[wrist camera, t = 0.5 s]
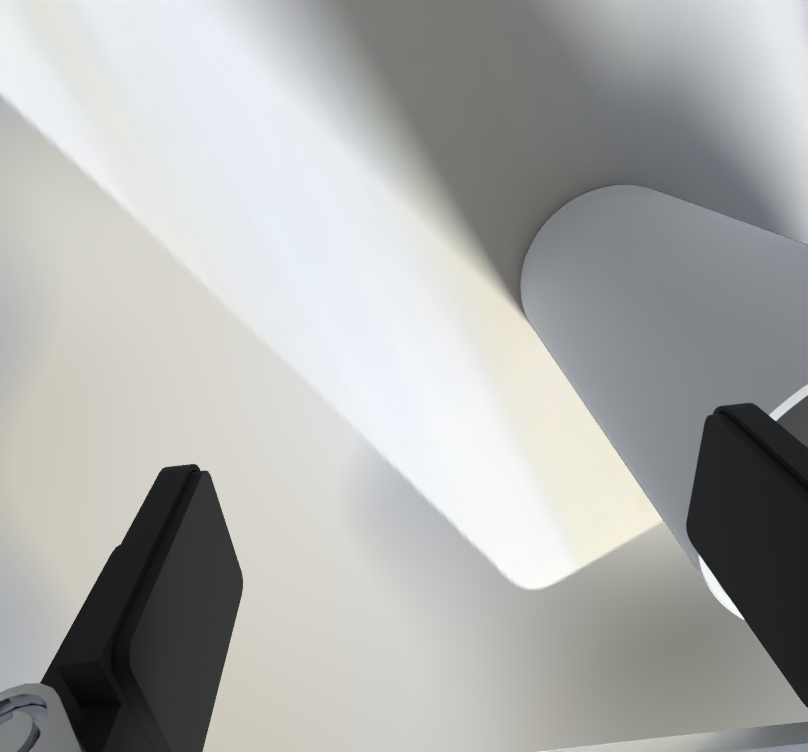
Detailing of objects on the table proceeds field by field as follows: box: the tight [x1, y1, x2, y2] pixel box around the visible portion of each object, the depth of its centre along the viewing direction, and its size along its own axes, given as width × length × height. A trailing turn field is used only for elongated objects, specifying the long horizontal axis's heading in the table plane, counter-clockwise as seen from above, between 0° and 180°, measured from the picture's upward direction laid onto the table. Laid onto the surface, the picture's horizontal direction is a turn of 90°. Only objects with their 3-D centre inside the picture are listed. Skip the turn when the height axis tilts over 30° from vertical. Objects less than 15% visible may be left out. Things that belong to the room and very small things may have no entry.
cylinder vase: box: [520, 185, 808, 620], centre depth 29 cm, size 12×12×25 cm
